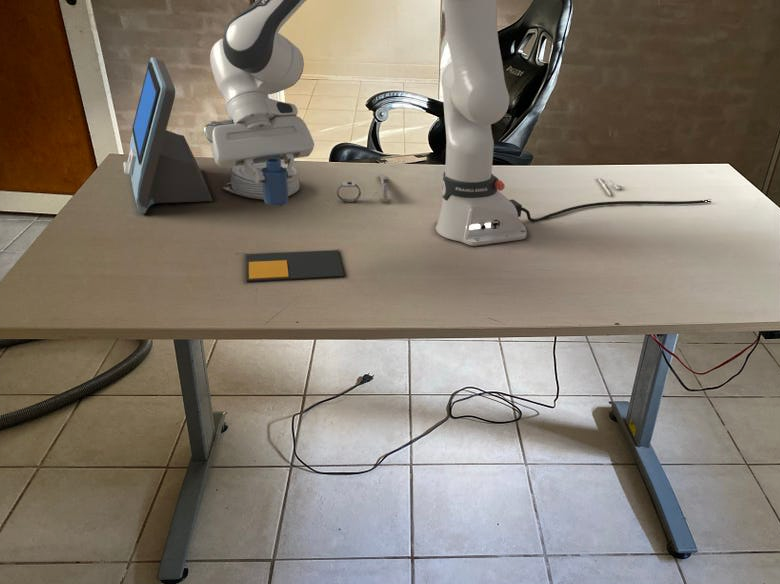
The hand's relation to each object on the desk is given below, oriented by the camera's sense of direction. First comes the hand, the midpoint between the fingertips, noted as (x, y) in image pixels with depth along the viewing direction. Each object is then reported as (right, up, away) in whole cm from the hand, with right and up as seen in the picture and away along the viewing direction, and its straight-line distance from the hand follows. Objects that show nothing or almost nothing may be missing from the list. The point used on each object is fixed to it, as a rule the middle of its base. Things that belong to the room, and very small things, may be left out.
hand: (276, 179), depth 146 cm
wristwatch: (+7, +6, +47) cm, 48 cm away
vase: (-1, -4, +3) cm, 5 cm away
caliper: (+15, +11, +56) cm, 59 cm away
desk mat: (+1, -16, +13) cm, 20 cm away
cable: (-16, +9, +51) cm, 54 cm away
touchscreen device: (-41, +9, +47) cm, 63 cm away
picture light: (+81, +14, +69) cm, 107 cm away
